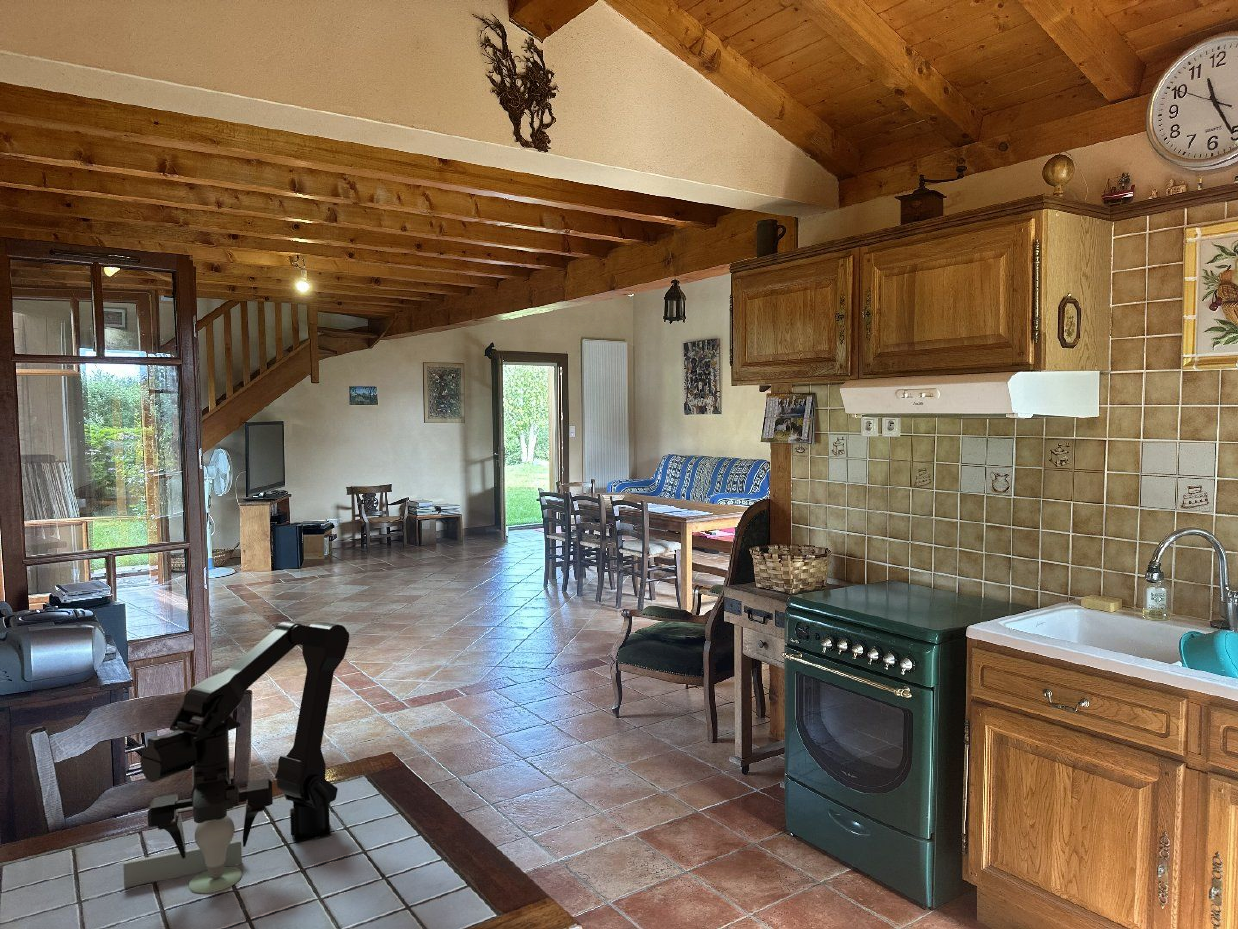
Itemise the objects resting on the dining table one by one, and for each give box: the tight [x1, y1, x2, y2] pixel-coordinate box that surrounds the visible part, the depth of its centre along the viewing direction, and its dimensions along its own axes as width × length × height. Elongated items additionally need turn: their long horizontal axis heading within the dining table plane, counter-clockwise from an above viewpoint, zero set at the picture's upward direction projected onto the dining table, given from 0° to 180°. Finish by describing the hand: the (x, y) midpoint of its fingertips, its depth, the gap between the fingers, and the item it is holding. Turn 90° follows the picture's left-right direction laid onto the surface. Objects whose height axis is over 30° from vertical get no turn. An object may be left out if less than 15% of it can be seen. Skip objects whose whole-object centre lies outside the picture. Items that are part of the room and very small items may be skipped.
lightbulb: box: [194, 814, 236, 879], centre depth 142 cm, size 6×6×11 cm
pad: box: [188, 866, 242, 894], centre depth 142 cm, size 8×8×1 cm
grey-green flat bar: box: [122, 839, 243, 889], centre depth 145 cm, size 18×1×4 cm, turn 113°
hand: (214, 851), depth 142 cm, fingers open, 9 cm apart
